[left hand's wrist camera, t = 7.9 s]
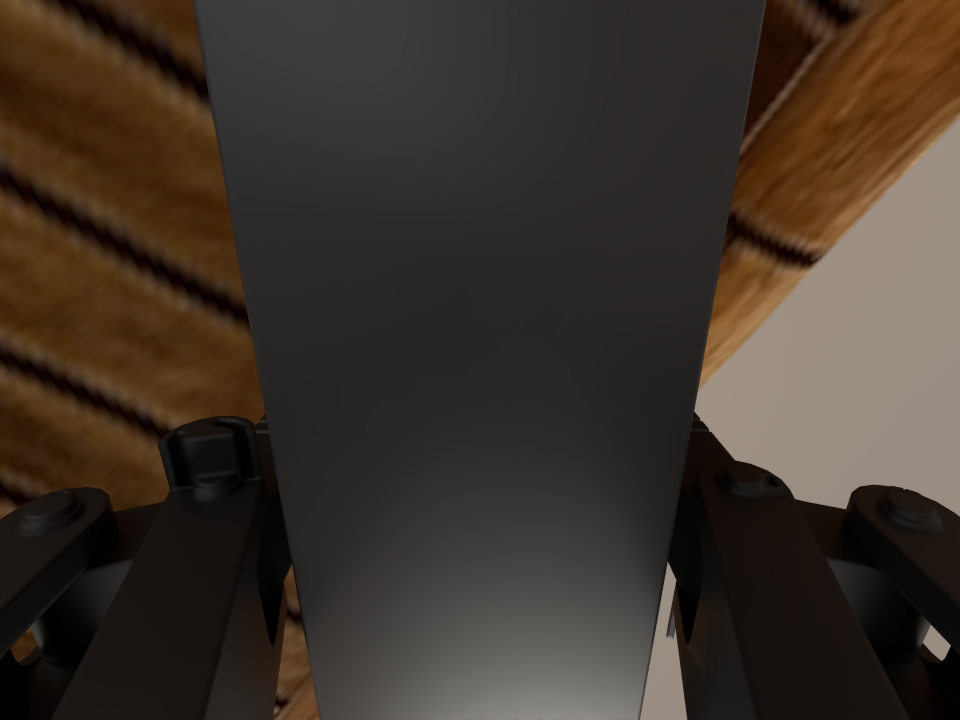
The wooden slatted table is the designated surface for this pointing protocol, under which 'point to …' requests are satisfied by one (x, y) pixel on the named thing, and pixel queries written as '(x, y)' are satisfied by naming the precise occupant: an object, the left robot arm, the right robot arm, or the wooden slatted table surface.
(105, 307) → the wooden slatted table surface
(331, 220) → the bar
